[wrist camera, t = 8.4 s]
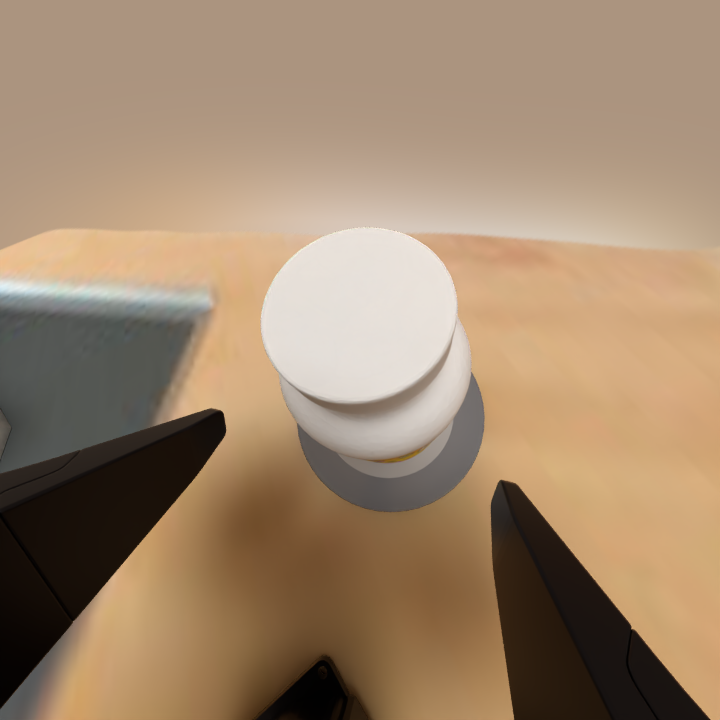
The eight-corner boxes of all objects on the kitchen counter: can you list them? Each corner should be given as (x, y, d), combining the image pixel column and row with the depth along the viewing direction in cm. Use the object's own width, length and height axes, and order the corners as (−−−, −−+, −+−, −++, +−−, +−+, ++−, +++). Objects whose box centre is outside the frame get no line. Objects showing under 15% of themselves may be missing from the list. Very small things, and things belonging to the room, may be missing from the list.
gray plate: (374, 556, 17) (373, 561, 16) (271, 400, 21) (264, 397, 20) (522, 422, 18) (529, 419, 17) (396, 302, 22) (395, 294, 21)
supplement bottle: (316, 420, 19) (165, 336, 7) (376, 343, 20) (333, 165, 8) (400, 489, 17) (383, 534, 5) (461, 398, 18) (566, 261, 6)
